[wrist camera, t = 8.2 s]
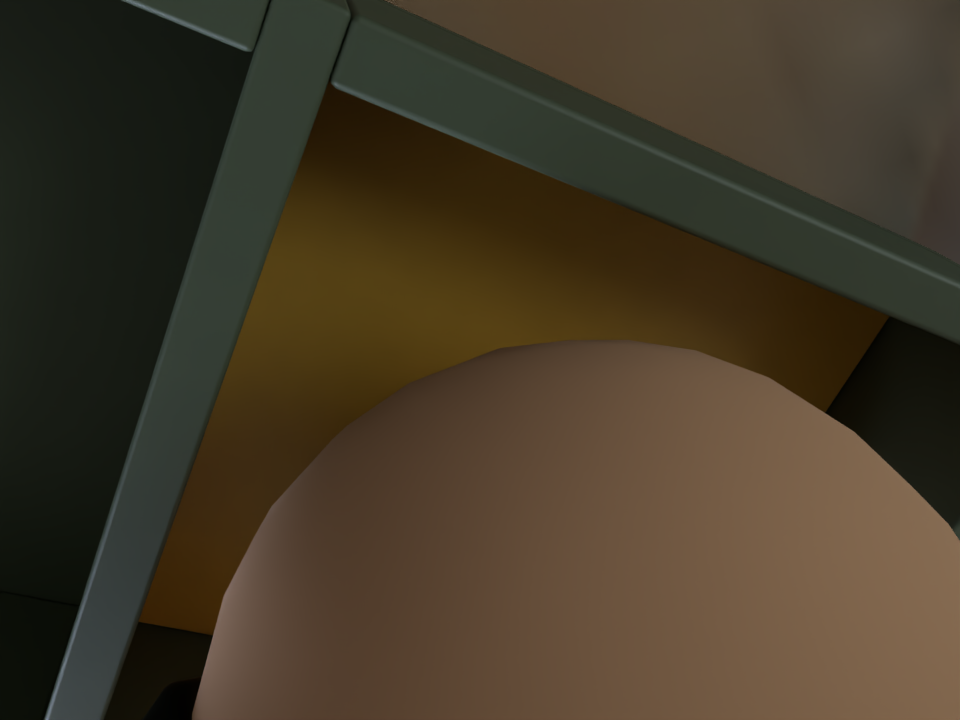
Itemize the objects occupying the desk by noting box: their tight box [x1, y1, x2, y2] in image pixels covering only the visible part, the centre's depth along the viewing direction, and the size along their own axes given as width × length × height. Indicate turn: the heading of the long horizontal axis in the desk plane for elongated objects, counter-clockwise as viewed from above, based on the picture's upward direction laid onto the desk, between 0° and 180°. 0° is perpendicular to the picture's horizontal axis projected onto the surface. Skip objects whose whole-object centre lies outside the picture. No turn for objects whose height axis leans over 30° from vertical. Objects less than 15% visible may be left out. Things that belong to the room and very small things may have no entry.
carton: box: [0, 0, 960, 720], centre depth 10 cm, size 19×10×4 cm, turn 65°
